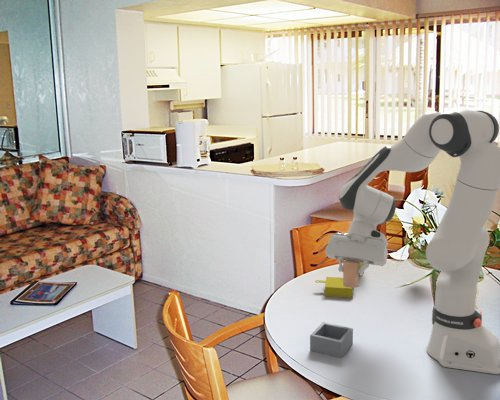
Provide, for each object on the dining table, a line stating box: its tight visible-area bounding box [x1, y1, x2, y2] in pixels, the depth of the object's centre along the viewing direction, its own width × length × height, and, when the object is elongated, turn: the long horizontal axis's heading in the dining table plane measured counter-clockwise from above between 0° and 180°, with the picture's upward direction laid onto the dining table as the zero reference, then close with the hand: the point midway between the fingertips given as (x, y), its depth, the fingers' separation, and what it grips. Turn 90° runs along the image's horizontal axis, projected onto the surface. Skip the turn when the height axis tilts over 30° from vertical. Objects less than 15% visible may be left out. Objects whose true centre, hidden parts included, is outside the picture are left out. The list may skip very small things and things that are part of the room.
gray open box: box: [309, 321, 354, 359], centre depth 169 cm, size 10×10×5 cm
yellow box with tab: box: [314, 276, 354, 298], centre depth 211 cm, size 16×8×15 cm
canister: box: [342, 260, 360, 289], centre depth 179 cm, size 5×5×8 cm
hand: (350, 272), depth 178 cm, fingers closed on canister, 5 cm apart
